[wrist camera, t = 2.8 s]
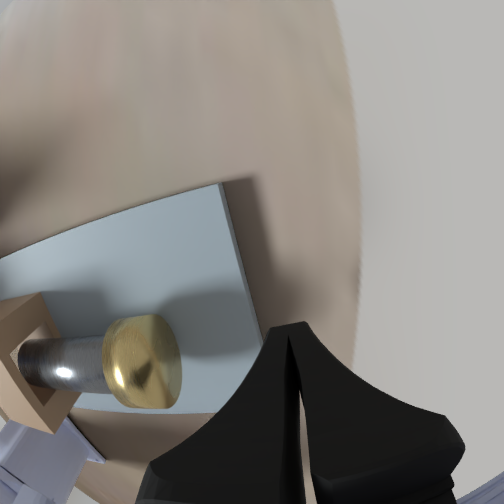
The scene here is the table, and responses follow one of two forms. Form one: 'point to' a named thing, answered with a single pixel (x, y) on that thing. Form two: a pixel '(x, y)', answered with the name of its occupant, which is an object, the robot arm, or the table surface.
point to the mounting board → (133, 301)
